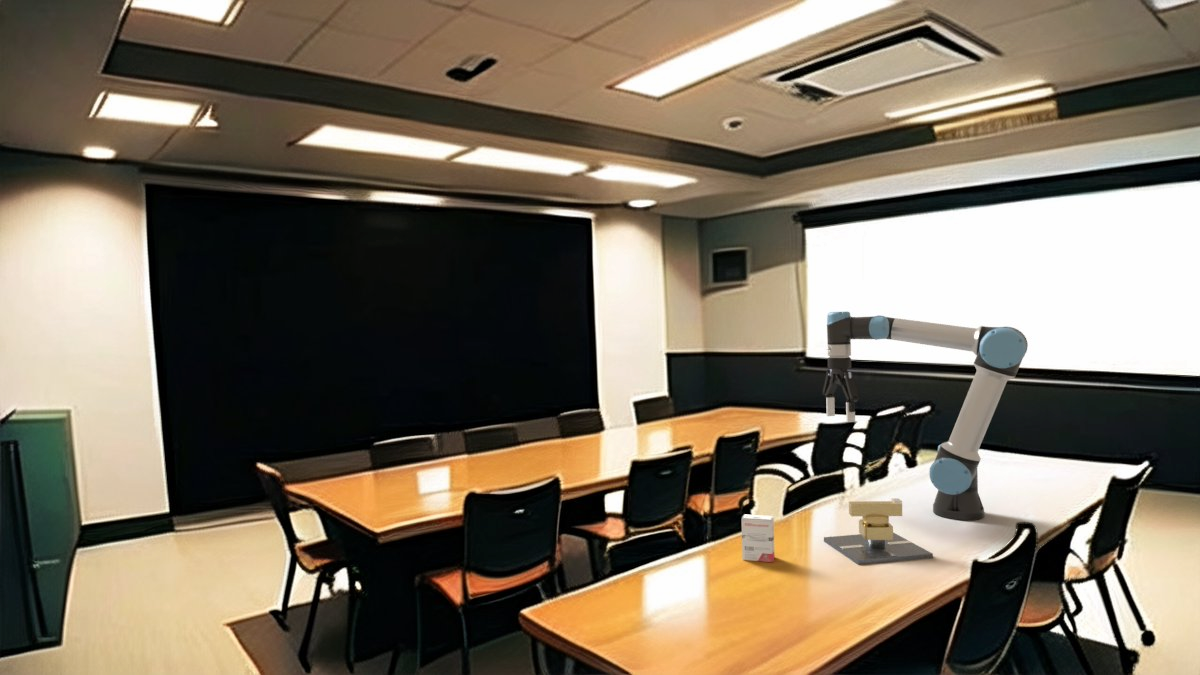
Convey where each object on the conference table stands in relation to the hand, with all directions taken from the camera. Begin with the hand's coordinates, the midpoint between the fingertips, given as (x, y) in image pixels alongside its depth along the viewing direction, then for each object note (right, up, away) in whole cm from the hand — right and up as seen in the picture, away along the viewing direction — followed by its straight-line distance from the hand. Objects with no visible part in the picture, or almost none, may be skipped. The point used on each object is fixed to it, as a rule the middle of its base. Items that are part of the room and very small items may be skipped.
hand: (840, 418), depth 238 cm
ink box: (-38, -35, -42) cm, 66 cm away
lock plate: (-3, -33, -38) cm, 51 cm away
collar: (-3, -29, -38) cm, 48 cm away
